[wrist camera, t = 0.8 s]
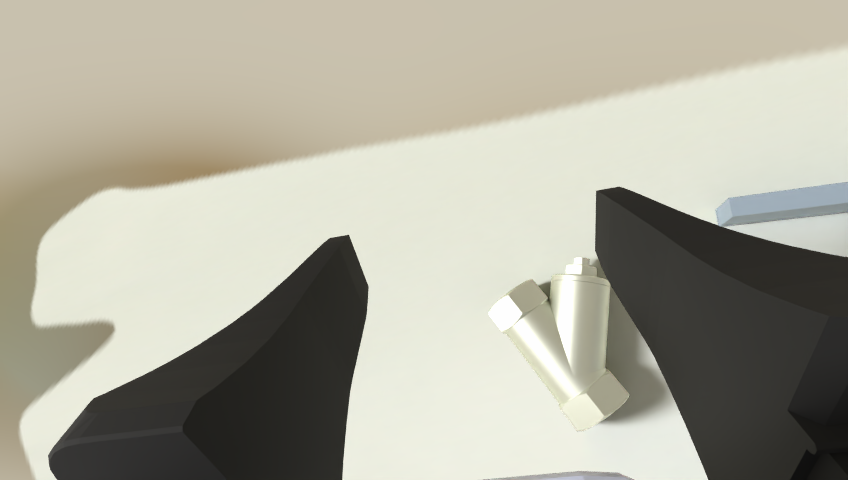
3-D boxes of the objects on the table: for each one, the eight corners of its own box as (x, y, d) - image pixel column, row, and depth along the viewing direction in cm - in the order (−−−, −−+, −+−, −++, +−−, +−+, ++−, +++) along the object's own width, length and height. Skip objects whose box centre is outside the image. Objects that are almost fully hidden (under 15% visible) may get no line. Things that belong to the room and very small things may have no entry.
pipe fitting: (575, 251, 26) (494, 314, 27) (577, 238, 23) (483, 310, 23) (672, 355, 23) (577, 423, 24) (691, 359, 19) (579, 438, 20)
